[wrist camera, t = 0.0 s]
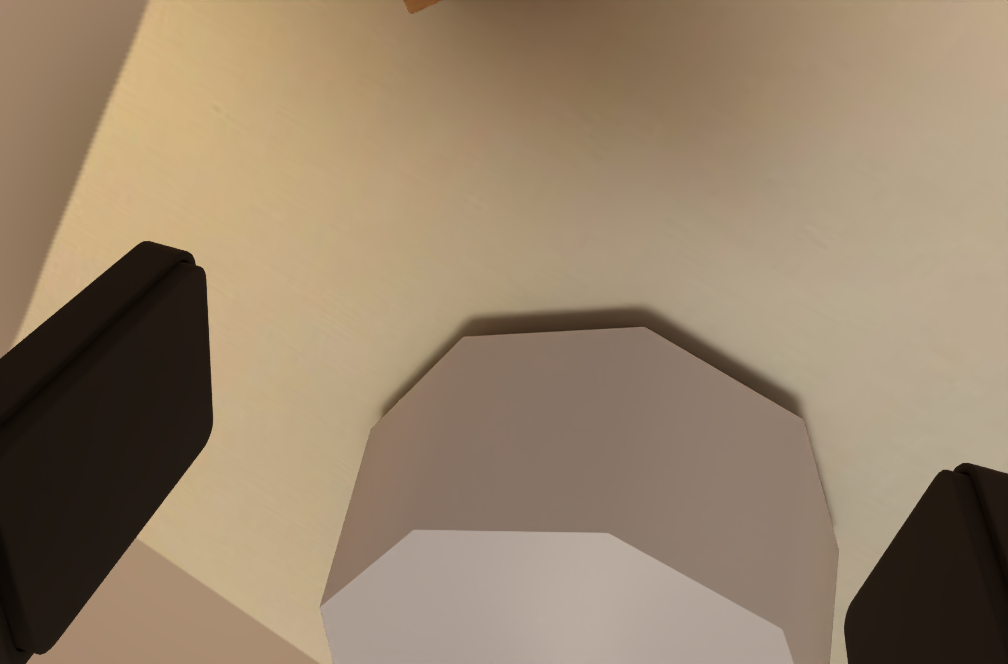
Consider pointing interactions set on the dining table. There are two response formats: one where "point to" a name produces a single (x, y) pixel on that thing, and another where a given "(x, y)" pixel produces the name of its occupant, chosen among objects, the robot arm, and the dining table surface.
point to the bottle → (583, 515)
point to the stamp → (419, 4)
